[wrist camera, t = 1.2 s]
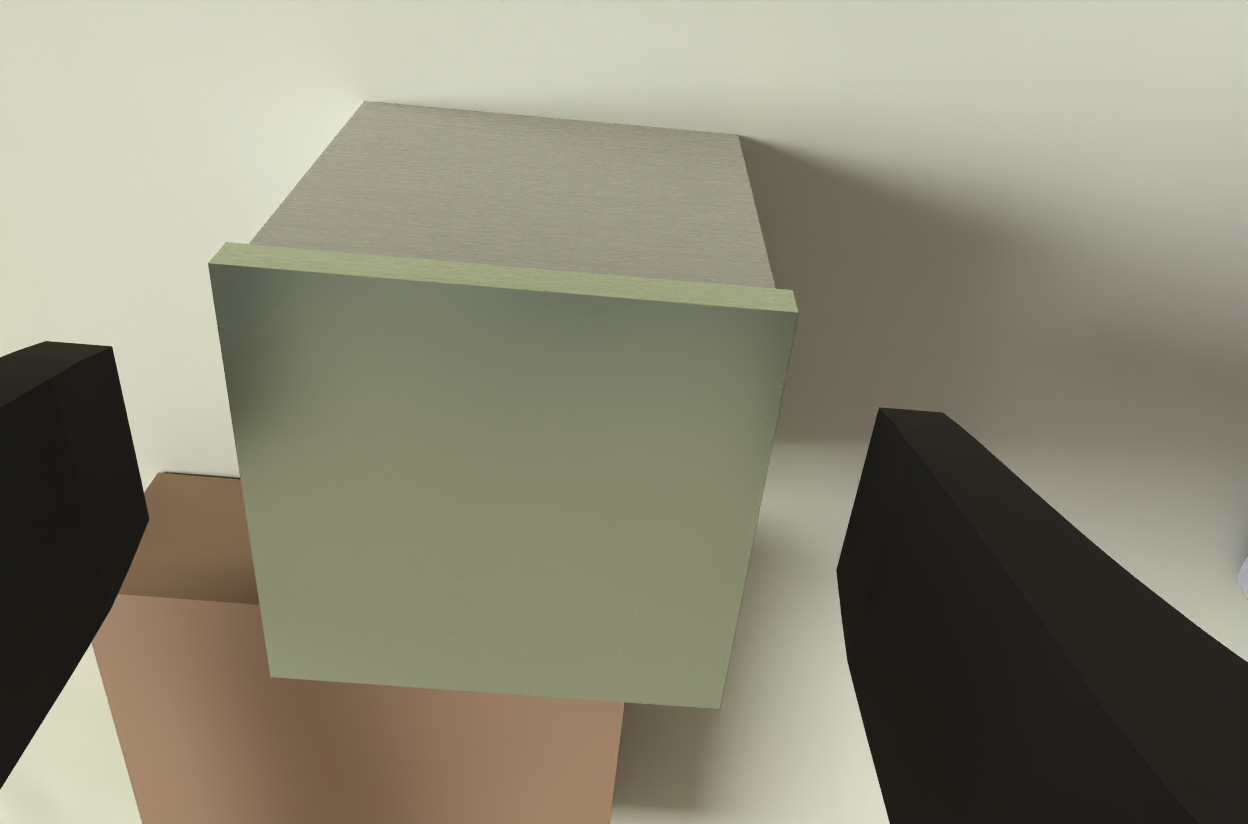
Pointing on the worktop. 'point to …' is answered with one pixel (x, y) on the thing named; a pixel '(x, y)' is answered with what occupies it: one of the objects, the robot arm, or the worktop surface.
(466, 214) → the tea tin
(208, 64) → the worktop surface
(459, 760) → the walnut block
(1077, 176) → the worktop surface
